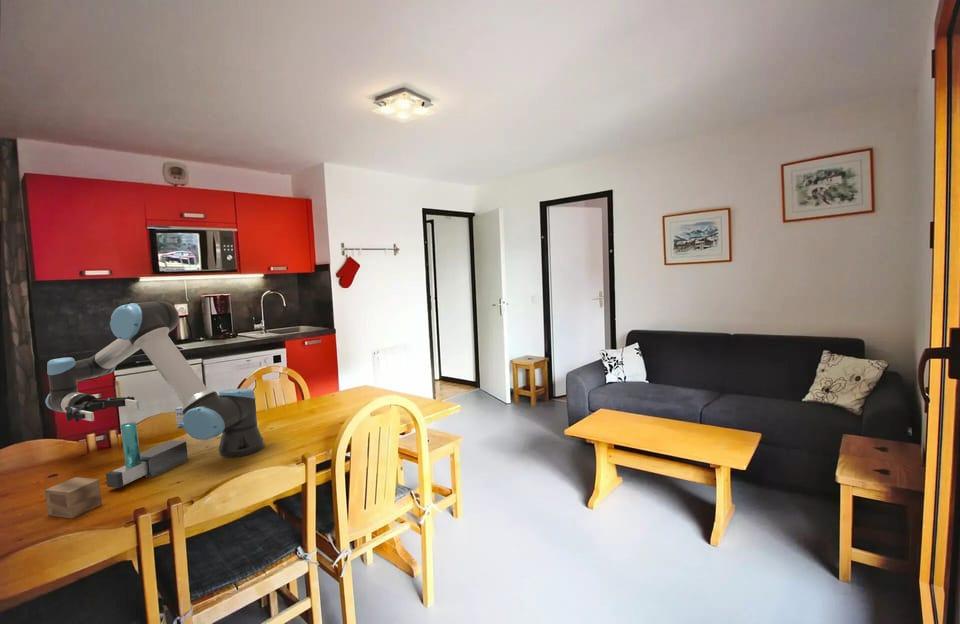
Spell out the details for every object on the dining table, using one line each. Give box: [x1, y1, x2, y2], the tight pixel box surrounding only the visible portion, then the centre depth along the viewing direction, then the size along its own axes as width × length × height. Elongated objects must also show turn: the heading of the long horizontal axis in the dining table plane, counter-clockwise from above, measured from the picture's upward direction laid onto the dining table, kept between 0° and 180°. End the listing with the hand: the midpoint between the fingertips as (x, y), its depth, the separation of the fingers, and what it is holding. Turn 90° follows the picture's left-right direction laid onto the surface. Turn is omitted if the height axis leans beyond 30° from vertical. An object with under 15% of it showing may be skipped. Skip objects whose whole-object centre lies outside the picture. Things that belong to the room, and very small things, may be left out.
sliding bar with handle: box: [105, 421, 149, 489], centre depth 155 cm, size 23×4×18 cm, turn 166°
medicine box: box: [174, 405, 184, 429], centre depth 206 cm, size 8×4×9 cm, turn 99°
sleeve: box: [140, 440, 189, 478], centre depth 161 cm, size 14×7×7 cm, turn 166°
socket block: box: [44, 476, 103, 519], centre depth 134 cm, size 8×9×8 cm
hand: (116, 410), depth 157 cm, fingers open, 13 cm apart
